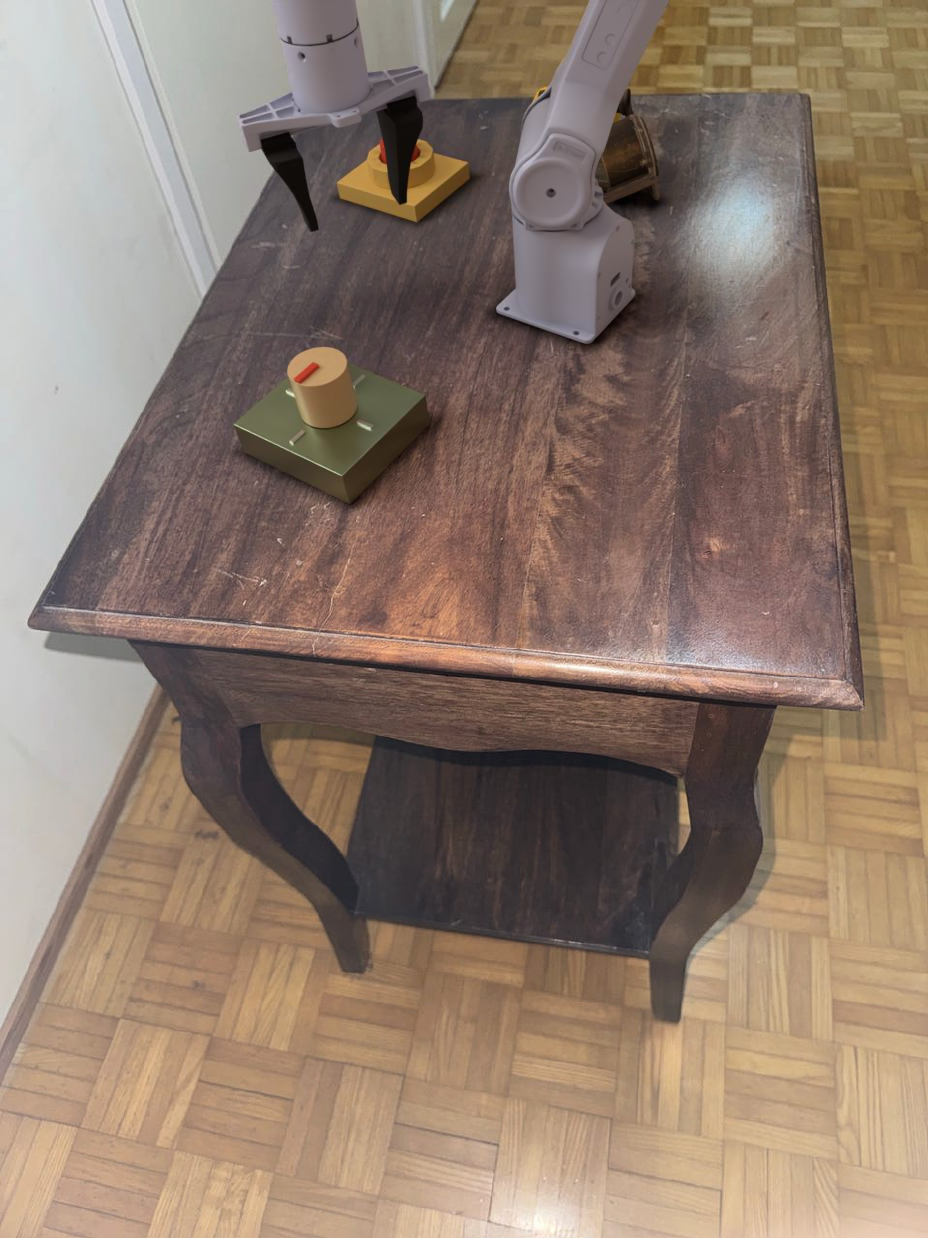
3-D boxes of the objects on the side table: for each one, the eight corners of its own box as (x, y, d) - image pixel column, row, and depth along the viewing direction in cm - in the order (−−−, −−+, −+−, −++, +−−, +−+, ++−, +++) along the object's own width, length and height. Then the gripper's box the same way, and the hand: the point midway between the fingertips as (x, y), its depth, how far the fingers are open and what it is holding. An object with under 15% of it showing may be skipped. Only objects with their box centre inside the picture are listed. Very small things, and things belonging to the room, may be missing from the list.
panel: (430, 424, 71) (425, 392, 69) (350, 505, 67) (341, 474, 64) (325, 379, 76) (317, 348, 73) (244, 452, 71) (231, 422, 69)
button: (425, 153, 90) (423, 135, 89) (403, 170, 88) (400, 153, 87) (397, 146, 91) (394, 128, 90) (375, 162, 90) (371, 145, 88)
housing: (470, 178, 92) (466, 143, 90) (417, 222, 88) (411, 187, 86) (393, 156, 96) (388, 123, 94) (339, 198, 92) (332, 164, 90)
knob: (326, 382, 71) (313, 336, 67) (369, 401, 69) (358, 354, 65) (288, 415, 69) (273, 370, 65) (331, 435, 67) (318, 389, 63)
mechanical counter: (665, 175, 79) (677, 95, 83) (520, 160, 81) (538, 82, 84) (652, 238, 86) (664, 162, 89) (519, 223, 87) (536, 148, 91)
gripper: (232, 77, 60) (284, 261, 71) (435, 21, 62) (455, 209, 73) (210, 38, 64) (262, 219, 75) (400, -13, 66) (424, 170, 77)
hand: (355, 211), depth 74 cm, fingers open, 7 cm apart
